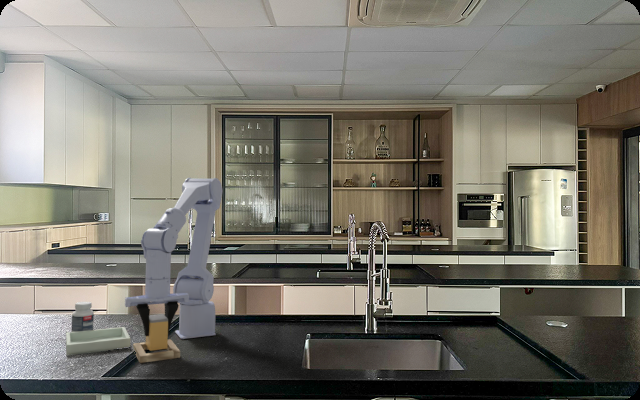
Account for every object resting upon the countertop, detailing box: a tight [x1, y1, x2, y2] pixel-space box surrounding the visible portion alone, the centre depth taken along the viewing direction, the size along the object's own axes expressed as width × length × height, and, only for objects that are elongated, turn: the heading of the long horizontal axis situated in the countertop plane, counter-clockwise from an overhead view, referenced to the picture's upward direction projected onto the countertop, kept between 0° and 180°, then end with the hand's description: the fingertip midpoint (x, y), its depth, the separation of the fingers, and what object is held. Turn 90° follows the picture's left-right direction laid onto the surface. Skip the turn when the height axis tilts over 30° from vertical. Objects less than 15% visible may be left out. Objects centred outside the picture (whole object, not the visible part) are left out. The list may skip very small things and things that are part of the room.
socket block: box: [132, 338, 181, 364], centre depth 114 cm, size 9×11×2 cm
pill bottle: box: [70, 301, 95, 332], centre depth 127 cm, size 5×5×9 cm
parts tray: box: [65, 326, 131, 357], centre depth 119 cm, size 14×12×2 cm
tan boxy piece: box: [145, 313, 169, 351], centre depth 114 cm, size 4×6×7 cm, turn 29°
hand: (156, 333), depth 114 cm, fingers closed on tan boxy piece, 4 cm apart
